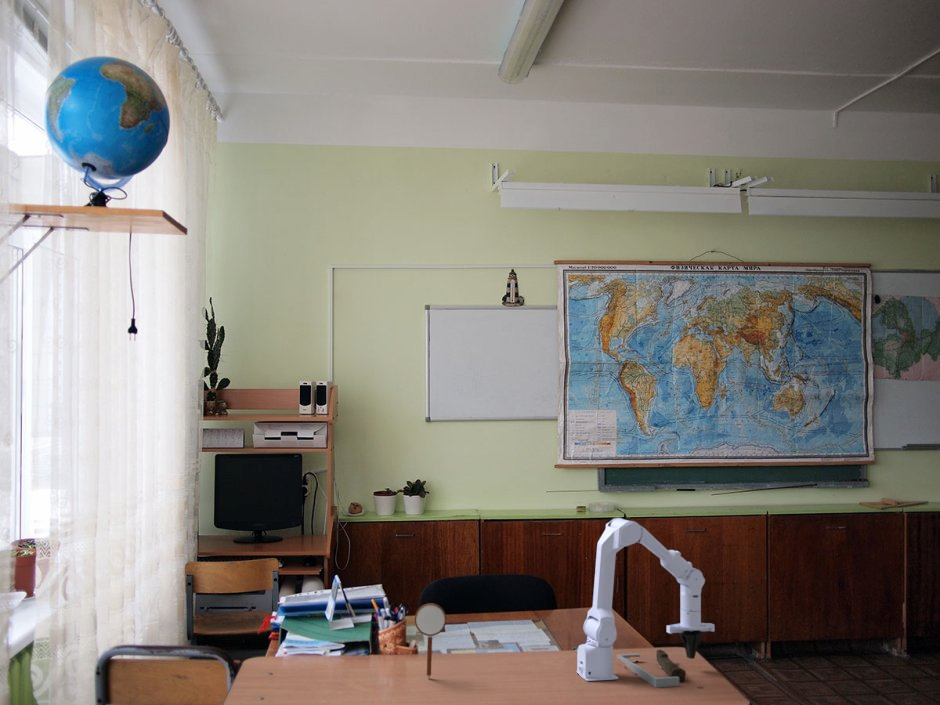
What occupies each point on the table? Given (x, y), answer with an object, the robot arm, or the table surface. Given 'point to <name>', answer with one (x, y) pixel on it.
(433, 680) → the table surface
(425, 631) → the magnifying glass
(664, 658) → the brown rough log
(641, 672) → the box
